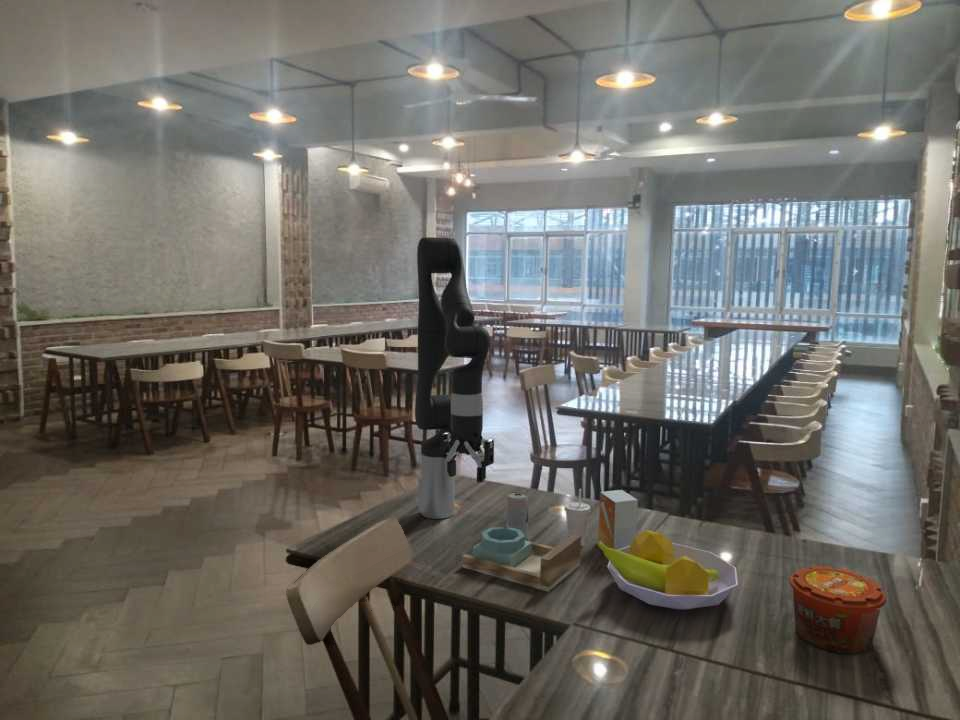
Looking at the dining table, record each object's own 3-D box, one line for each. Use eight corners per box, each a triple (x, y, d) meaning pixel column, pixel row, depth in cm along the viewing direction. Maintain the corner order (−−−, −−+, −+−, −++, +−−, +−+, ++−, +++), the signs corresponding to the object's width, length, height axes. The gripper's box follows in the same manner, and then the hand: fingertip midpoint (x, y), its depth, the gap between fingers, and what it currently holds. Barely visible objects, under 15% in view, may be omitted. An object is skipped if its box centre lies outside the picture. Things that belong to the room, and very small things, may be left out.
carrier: (473, 558, 161) (473, 536, 161) (495, 544, 170) (495, 523, 169) (510, 568, 156) (510, 546, 155) (531, 553, 164) (532, 532, 164)
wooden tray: (462, 567, 160) (462, 537, 159) (498, 544, 173) (498, 516, 172) (548, 591, 148) (549, 560, 147) (580, 565, 161) (580, 535, 160)
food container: (799, 607, 142) (803, 557, 141) (889, 633, 132) (894, 580, 131) (774, 639, 130) (778, 584, 129) (871, 671, 120) (877, 612, 118)
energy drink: (527, 537, 177) (528, 492, 176) (527, 546, 172) (528, 499, 170) (506, 536, 178) (507, 491, 176) (505, 545, 172) (506, 498, 171)
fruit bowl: (732, 575, 157) (735, 526, 155) (738, 635, 131) (741, 578, 130) (607, 558, 165) (608, 512, 164) (588, 611, 140) (590, 557, 138)
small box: (597, 541, 175) (599, 491, 173) (620, 538, 177) (622, 489, 175) (613, 554, 167) (614, 501, 166) (636, 551, 169) (638, 499, 168)
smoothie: (591, 549, 170) (592, 493, 169) (564, 548, 171) (566, 493, 169) (587, 538, 177) (589, 485, 175) (562, 538, 177) (563, 484, 175)
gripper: (432, 410, 165) (432, 477, 167) (484, 417, 157) (483, 488, 159) (450, 405, 171) (450, 470, 173) (501, 412, 164) (500, 480, 166)
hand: (466, 478), depth 166 cm, fingers open, 7 cm apart
